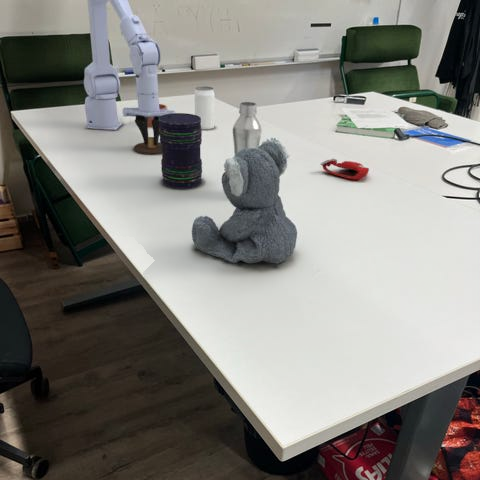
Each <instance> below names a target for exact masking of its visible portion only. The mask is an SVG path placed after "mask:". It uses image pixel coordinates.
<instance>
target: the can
mask: <svg viewBox="0 0 480 480" xmlns="http://www.w3.org/2000/svg"><path fill="white" fill-rule="evenodd" d="M215 109H216V94H215V91H214V87H212V86H206V85H205V86H203V85H202V86H196V87H195V91H194V115H197V116H199V117H200V118H201V123H200V124H201V130H202V131H207V130H212V129H214V128H215V124H216V123H215V121H216V120H215V119H216V118H215V117H216V110H215Z"/></svg>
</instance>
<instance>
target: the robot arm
mask: <svg viewBox="0 0 480 480" xmlns="http://www.w3.org/2000/svg"><path fill="white" fill-rule="evenodd" d="M108 2H109V3H110V4H111V6H112V8H113V9H114V11H115V13H116V14H117V16H118V18H119V20H120V21H119V22H120V23H119V29H120V31H121V33H122V36H123V37H124V40H125V42H126V44H127V46H128V49H129V54H128V55H129V60H130V63H131V66H132V72H133V74H134V75H135V85H136V97H137V98H136V99H137V107H123V108H122V116H123V117H126V118H127V117H134V118H135V119H134V123H135V124H136V126H137V128H138V129H139V132H140V134H141V137H142V139H143V143H144V144H145V145H147V144H148V142H147V138H148V137H150V136H149V127H148V117H149V118H154V119H153V120H152V127H151V128H152V132H153V133H152V134H153V137H154V145H157V144H158V142H159V141H160V135H159V124H160V123H159V117H160V116H162V115H165V114H172V113H177V112H176V110H169V109H167V110H164V109H159V104H160V98H159V97H160V96H159V81H158V66H159V65H160V63H161V59H162V54H161V50H160V46H159V44H158V42H156V40H154V39H153V38H151V37H149V35H148V32H147V30H146V29H145V26H144V25H143V22H142V21H141V18H140V17H139V16H138V15H136V14H134V13H133V10H132V7H131V5H130V2H129V0H87V9H88V10H87V11H88V21H89V33H90V44H91V45H90V46H91V54H92V55H91V56H92V57H91V58H92V61H91V62H90V64H88V65H87V66H86V67H84V78H83V86H84V90H85V92H86V95H87V96H86V97H85V99H84V111H85V117H86V124H87V126H86V128H87V129H93V130H107V131H116V130H117V129H119V128H120V127H121V126H122V125H124V123H123V122H122V121H121V122H119V116H118V107H117V106H118V105H117V98H118V95H119V94H120V92H121V81H120V76H119V71H118V69H117V68H116V67H115V66H114V65H113V64H111V55H110V43H109V27H108V13H107V3H108Z"/></svg>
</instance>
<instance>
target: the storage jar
mask: <svg viewBox="0 0 480 480" xmlns="http://www.w3.org/2000/svg"><path fill="white" fill-rule="evenodd" d="M159 123H160V124H159V142H160V143H161V146H162V153H161V159H160V165H161V167H160V168H161V169H160V170H161V176H162V184H163V186H166V187H167V188H169V189H175V190H188V189H189V190H191V189H195V188H197V187H200V186H201V185H202V183H203V179H202V176H203V175H202V173H203V160H202V158H201V145H202V142H203V139H202V137H203V135H202V134H203V133H202V132H203V130H202V129H201V124H200V123H201V118H200V117H199V116H197V115H195V114H193V113H184V112H176V113H172V114H165V115H162V116H160V117H159Z"/></svg>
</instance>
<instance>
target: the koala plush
mask: <svg viewBox="0 0 480 480" xmlns="http://www.w3.org/2000/svg"><path fill="white" fill-rule="evenodd" d="M234 155H235V154H234ZM290 156H291V155H290V154H289V153H288V151H287V150H286V147H285V146H284V145H283V143H282V142H281V141H280V140H279V139H276V137H271V138H270V139H269V138H267V139H266V140H263V141H262V142H261V144H259V147H258V149H256V148H248V149H242V150H241V151H239V152H238V153H237V154H236V155H235V156H232V157H228V158H226V159H225V161H224V163H223V168H224V169H223V170H224V172H223V174H222V176H221V185H222V190H223V192H224V194H225V196H226V198H227V200H228V201H229V202H230V204H231V205H232V206H233V207H234V208H235V209H234V210H233V212H232V215H230V216H229V218H228V219H227V220H225V221H224V222H223V223H222V224H221V226H220V227H218V226H217V224H216V222H215V221H214V219H213V218H211V217H209V216H207V215H205V216H203V215H199V216H197V217H196V218H195V219H193V220H194V221H193V222H192V227H191V238H192V239H191V240H192V242H193V244H194V245H195V247H196V249H197V250H199V251H200V252H202V253H204V254H207V255H210V256H213V257H218V258H220V259H223V260H224V261H227V262H228V263H232V264H237V263H239V262H240V261H242V262H244V263H246V264H255V263H259V262H265V263H268V264H275V265H278V264H280V263H283V262H285V261H286V260H287V259H288V258H289V257H291V256H292V255H293V253H294V251H295V249H296V246H297V245H296V244H297V238H298V230H297V227H296V225H295V224H294V222H293V221H292V220H291V219H290V218H289V217H287V215H286V211H285V210H284V205H283V201H282V198H281V196H280V195H279V192H280V183H281V178H280V177H281V176H282V175H284V174H285V172H286V170H287V168H288V159H289V157H290Z"/></svg>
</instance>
